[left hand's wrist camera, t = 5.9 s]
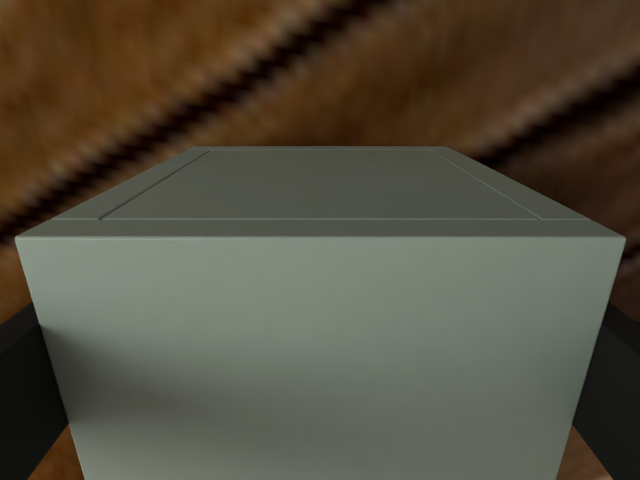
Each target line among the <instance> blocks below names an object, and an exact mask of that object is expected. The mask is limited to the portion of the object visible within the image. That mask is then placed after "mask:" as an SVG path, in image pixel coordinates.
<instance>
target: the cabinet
mask: <svg viewBox="0 0 640 480" xmlns="http://www.w3.org/2000/svg"><path fill="white" fill-rule="evenodd" d="M15 242H16V246H17V249H18V252H19V256H20V259H21V263H22V266H23V269H24V273H25V276H26V280H27V283H28V287H29V290H30V293H31V297H32V300H33V304H34V307H35V310H36V314H37V317H38V321H39V324H40V328H41V331H42V334H43V338H44V341H45V345H46V348H47V351H48V355H49V358H50V362H51V365H52V369H53V372H54V375H55V379H56V382H57V386H58V389H59V392H60V396H61V399H62V403H63V406H64V410H65V413H66V416H67V420H68V423H69V427H70V430H71V433H72V437H73V440H74V444H75V447H76V451H77V454H78V457H79V461H80V464H81V468H82V471H83V474H84V478H85V480H556V477H557V474H558V470H559V467H560V463H561V460H562V457H563V453H564V450H565V446H566V443H567V440H568V436H569V433H570V430H571V426H572V423H573V419H574V416H575V413H576V409H577V406H578V402H579V399H580V396H581V392H582V389H583V385H584V382H585V379H586V375H587V372H588V368H589V365H590V362H591V358H592V355H593V351H594V348H595V345H596V341H597V338H598V334H599V331H600V328H601V324H602V321H603V317H604V314H605V311H606V307H607V304H608V300H609V297H610V294H611V290H612V287H613V283H614V280H615V277H616V273H617V270H618V267H619V263H620V260H621V256H622V253H623V250H624V246H625V243H626V238H625V237H624V236H622V235H620V234H618V233H616V232H614V231H612V230H610V229H608V228H606V227H604V226H602V225H600V224H598V223H597V222H595V221H592V220H590V219H589V218H587V217H585V216H583V215H581V214H579V213H577V212H575V211H573V210H571V209H569V208H567V207H565V206H563V205H561V204H559V203H558V202H556V201H554V200H552V199H550V198H548V197H546V196H544V195H542V194H540V193H538V192H536V191H534V190H532V189H530V188H528V187H526V186H524V185H522V184H520V183H518V182H516V181H514V180H512V179H510V178H508V177H506V176H504V175H502V174H500V173H499V172H497V171H495V170H493V169H491V168H489V167H487V166H485V165H483V164H481V163H479V162H477V161H475V160H473V159H471V158H469V157H467V156H465V155H463V154H461V153H459V152H457V151H455V150H453V149H451V148H449V147H447V146H194V147H192V148H190V149H188V150H186V151H184V152H182V153H180V154H178V155H176V156H174V157H172V158H170V159H168V160H166V161H164V162H162V163H160V164H158V165H156V166H154V167H153V168H151V169H149V170H147V171H145V172H143V173H141V174H139V175H137V176H135V177H133V178H131V179H129V180H127V181H125V182H123V183H121V184H119V185H117V186H115V187H113V188H111V189H109V190H107V191H105V192H103V193H101V194H99V195H97V196H95V197H93V198H92V199H90V200H88V201H86V202H84V203H82V204H80V205H78V206H76V207H74V208H72V209H70V210H68V211H66V212H64V213H62V214H60V215H58V216H56V217H54V218H52V219H51V220H48V221H46V222H44V223H42V224H40V225H38V226H36V227H34V228H32V229H30V230H28V231H26V232H24V233H22V234H20V235H18V236H16V237H15Z"/></svg>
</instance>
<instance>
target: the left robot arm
mask: <svg viewBox="0 0 640 480" xmlns="http://www.w3.org/2000/svg"><path fill="white" fill-rule="evenodd" d="M68 424H69V423H68V420H67V416H66V413H65V410H64V406H63V403H62V399H61V396H60V392H59V389H58V386H57V382H56V379H55V375H54V372H53V369H52V365H51V362H50V358H49V355H48V351H47V348H46V345H45V341H44V338H43V334H42V331H41V328H40V324H39V321H38V317H37V314H36V310H35V307H34V304H33V301H32V302H31V303H29V304H28V305H27V306H26V307H24V308H23V309H22V310H20V311H19V312H18V313H16V314H15V315H14V316H12V317H11V318H10V319H8V320H7V321H6V322H4V323H2V324H0V480H27V479H28V478H29V476H30V475H31V474H32V472H33V471H34V470H35V468H36V467H37V466H38V464H39V463H40V462H41V460H42V459H43V457H44V456H45V455H46V453H47V452H48V451H49V449H50V448H51V447H52V445H53V444H54V443H55V441H56V440H57V438H58V437H59V436H60V434H61V433H62V432H63V430H64V429H65V428H66V426H67V425H68ZM572 424H573V426H574V427H575V428H576V430H577V431H578V432H579V434H580V435H581V437H582V438H583V439H584V441H585V442H586V443H587V445H588V446H589V447H590V449H591V450H592V451H593V453H594V454H595V455H596V457H597V458H598V460H599V461H600V462H601V464H602V465H603V466H604V468H605V469H606V470H607V472H608V473H609V474H610V476H611V477H612V478H613V480H640V322H635V321H633V320H632V319H631V318H629V317H628V316H627V315H625V314H624V313H623V312H622V311H620V310H619V309H618V308H616V307H615V306H614V305H612V304H611V303H610V302H608V304H607V307H606V311H605V314H604V317H603V321H602V324H601V328H600V331H599V334H598V338H597V341H596V345H595V348H594V351H593V355H592V358H591V362H590V365H589V368H588V372H587V375H586V379H585V382H584V385H583V389H582V392H581V396H580V399H579V402H578V406H577V409H576V413H575V416H574V419H573V423H572Z"/></svg>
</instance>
